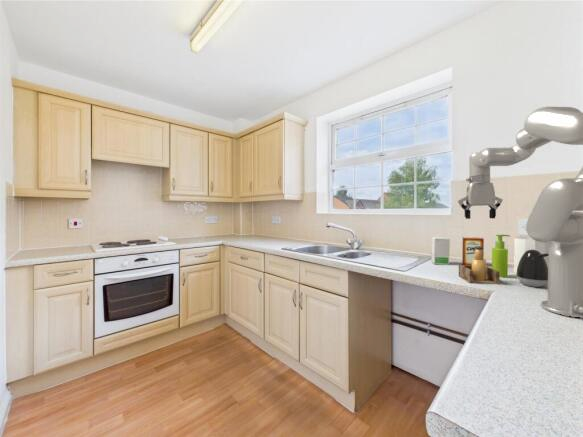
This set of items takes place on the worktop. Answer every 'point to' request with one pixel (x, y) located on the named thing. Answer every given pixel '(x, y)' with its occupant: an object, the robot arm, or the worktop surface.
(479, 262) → the amber bottle
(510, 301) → the worktop surface
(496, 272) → the open wooden box
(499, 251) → the soap dispenser
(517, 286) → the worktop surface
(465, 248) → the baking soda box
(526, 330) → the worktop surface
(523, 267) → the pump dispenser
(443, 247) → the skincare box
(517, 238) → the container
